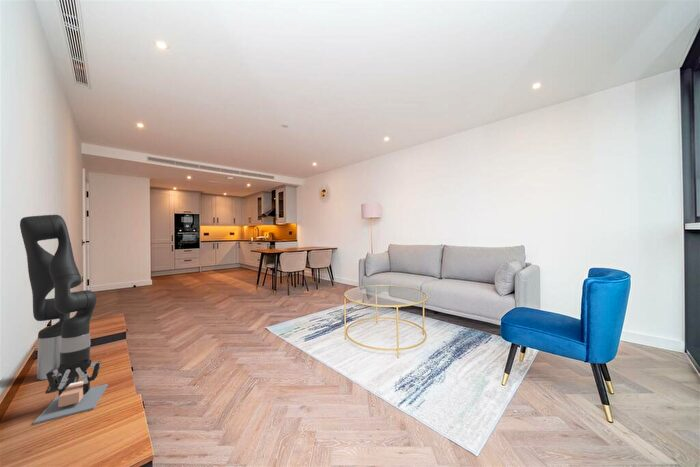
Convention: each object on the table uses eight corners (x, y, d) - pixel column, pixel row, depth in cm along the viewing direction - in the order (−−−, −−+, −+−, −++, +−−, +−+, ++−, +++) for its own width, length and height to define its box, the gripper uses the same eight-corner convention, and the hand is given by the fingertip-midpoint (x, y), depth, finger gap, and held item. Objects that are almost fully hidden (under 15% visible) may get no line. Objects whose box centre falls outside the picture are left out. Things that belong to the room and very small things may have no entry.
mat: (58, 396, 98) (58, 394, 98) (107, 385, 105) (107, 383, 105) (33, 424, 83) (33, 422, 83) (93, 409, 90) (93, 407, 90)
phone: (80, 370, 116) (76, 384, 105) (80, 373, 116) (76, 386, 105) (53, 377, 111) (46, 391, 100) (53, 380, 111) (46, 394, 100)
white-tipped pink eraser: (79, 402, 91) (79, 392, 91) (58, 407, 88) (58, 396, 88) (88, 389, 99) (88, 379, 99) (70, 393, 97) (70, 383, 97)
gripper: (41, 356, 87) (40, 408, 87) (99, 346, 95) (98, 394, 94) (51, 348, 94) (50, 396, 93) (105, 340, 101) (104, 385, 101)
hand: (74, 395), depth 94 cm, fingers closed on white-tipped pink eraser, 5 cm apart
